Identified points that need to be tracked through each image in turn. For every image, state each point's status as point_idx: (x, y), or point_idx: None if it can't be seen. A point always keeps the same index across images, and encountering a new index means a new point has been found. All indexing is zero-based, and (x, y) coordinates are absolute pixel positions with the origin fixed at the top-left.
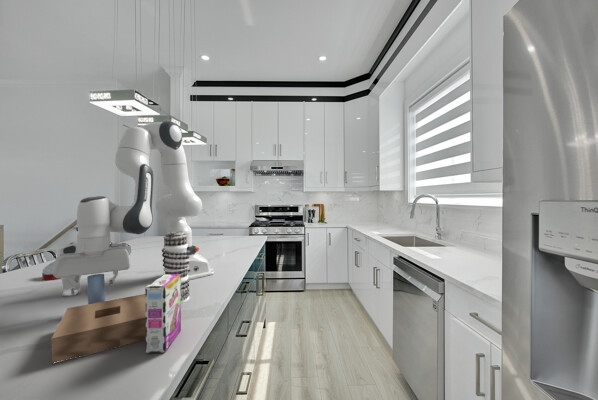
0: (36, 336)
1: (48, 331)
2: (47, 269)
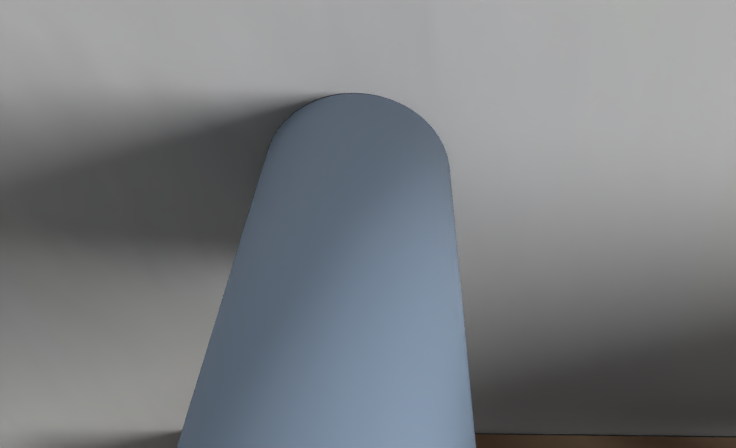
0: (8, 441)
1: (52, 407)
2: None
